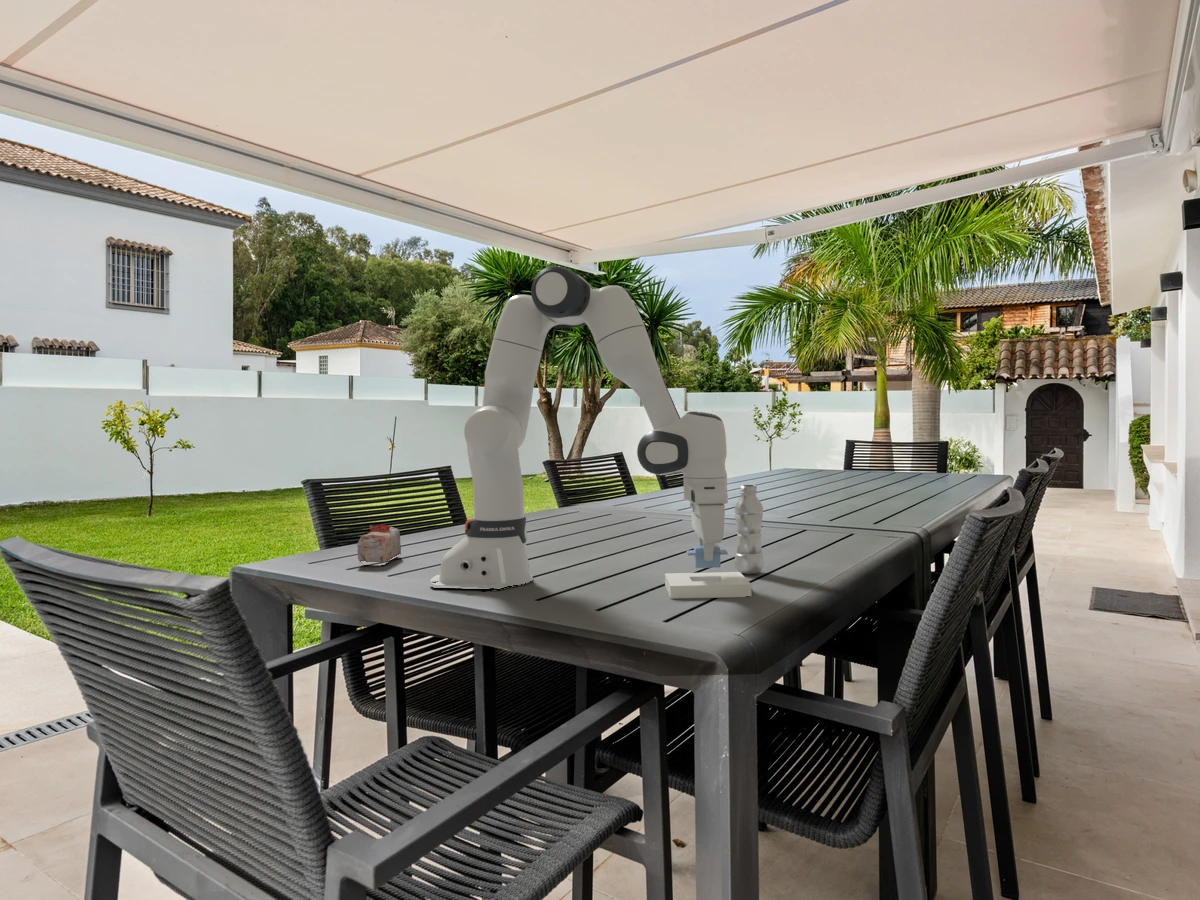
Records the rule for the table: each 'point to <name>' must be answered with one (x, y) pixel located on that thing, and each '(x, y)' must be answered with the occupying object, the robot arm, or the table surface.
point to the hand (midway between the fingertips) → (706, 558)
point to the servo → (699, 559)
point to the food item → (379, 544)
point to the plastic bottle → (749, 531)
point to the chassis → (707, 585)
